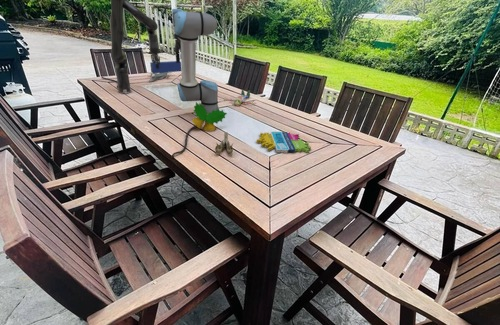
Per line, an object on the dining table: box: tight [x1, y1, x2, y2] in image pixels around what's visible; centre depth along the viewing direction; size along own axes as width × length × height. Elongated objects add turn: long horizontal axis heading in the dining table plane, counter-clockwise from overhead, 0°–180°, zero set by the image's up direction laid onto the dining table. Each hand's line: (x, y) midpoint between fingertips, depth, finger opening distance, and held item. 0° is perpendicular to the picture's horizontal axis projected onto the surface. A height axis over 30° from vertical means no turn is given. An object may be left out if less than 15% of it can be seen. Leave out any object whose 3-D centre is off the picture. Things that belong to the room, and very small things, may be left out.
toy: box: [223, 89, 257, 106], centre depth 219 cm, size 28×7×30 cm
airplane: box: [146, 72, 176, 83], centre depth 274 cm, size 38×31×10 cm
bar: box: [149, 60, 182, 74], centre depth 236 cm, size 27×5×8 cm, turn 131°
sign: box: [256, 131, 312, 154], centre depth 152 cm, size 26×2×30 cm
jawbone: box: [214, 131, 234, 156], centre depth 136 cm, size 9×15×10 cm
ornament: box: [191, 101, 228, 132], centre depth 162 cm, size 21×8×15 cm, turn 105°
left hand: (156, 68), depth 230 cm, fingers closed on bar, 5 cm apart
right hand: (180, 64), depth 201 cm, fingers open, 13 cm apart
